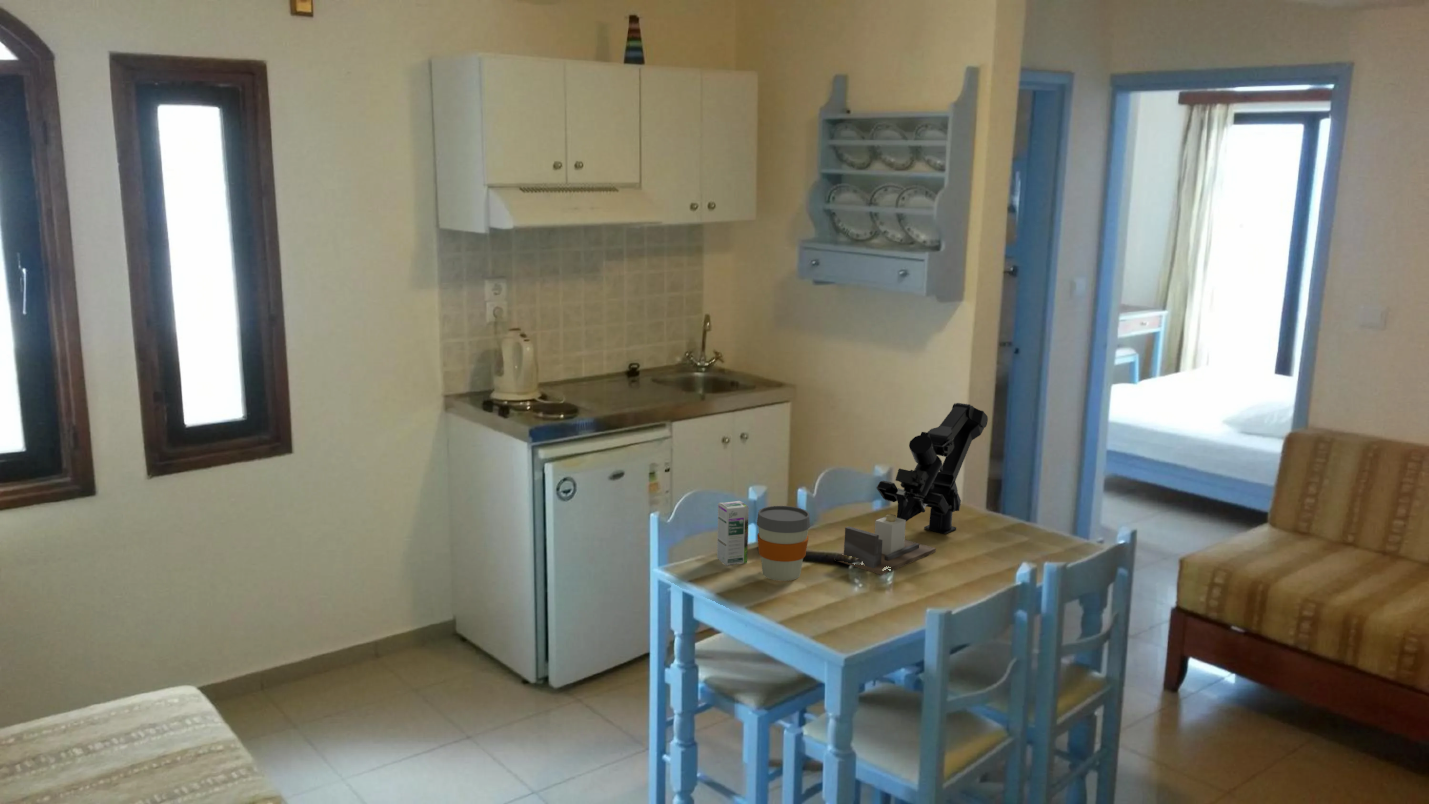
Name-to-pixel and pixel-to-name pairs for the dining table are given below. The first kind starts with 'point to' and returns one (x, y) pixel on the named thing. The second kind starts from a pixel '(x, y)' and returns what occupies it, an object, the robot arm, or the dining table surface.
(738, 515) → the syrup box
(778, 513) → the reusable coffee cup
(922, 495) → the robot arm
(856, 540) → the brown board with frame
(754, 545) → the dining table surface
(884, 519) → the white block with knob
